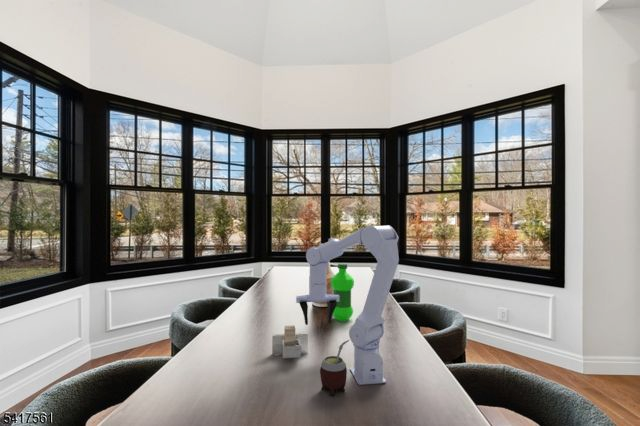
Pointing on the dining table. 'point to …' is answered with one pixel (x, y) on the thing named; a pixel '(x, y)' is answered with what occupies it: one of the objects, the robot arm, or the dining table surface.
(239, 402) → the dining table surface
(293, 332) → the rail end
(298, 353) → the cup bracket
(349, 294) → the plastic bottle
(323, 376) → the mate gourd
